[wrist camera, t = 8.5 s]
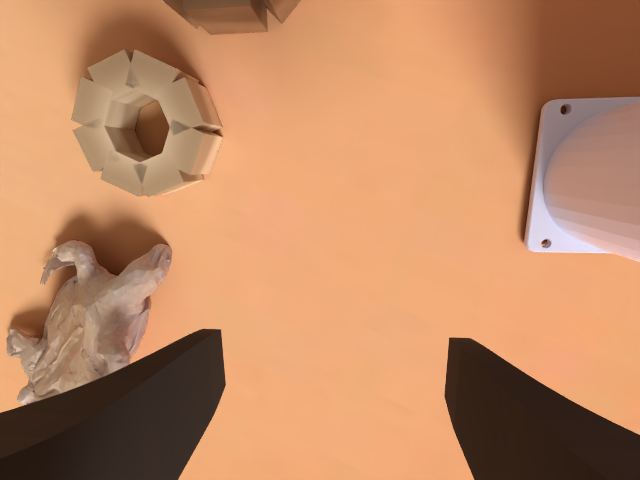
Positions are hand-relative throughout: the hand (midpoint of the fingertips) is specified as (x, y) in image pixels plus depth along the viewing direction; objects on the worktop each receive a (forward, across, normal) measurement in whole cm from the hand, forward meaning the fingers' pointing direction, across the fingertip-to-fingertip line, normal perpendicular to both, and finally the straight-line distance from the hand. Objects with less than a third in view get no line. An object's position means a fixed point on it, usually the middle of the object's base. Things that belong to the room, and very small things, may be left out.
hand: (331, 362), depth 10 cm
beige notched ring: (+10, +11, -8) cm, 17 cm away
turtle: (+11, +17, +5) cm, 21 cm away
